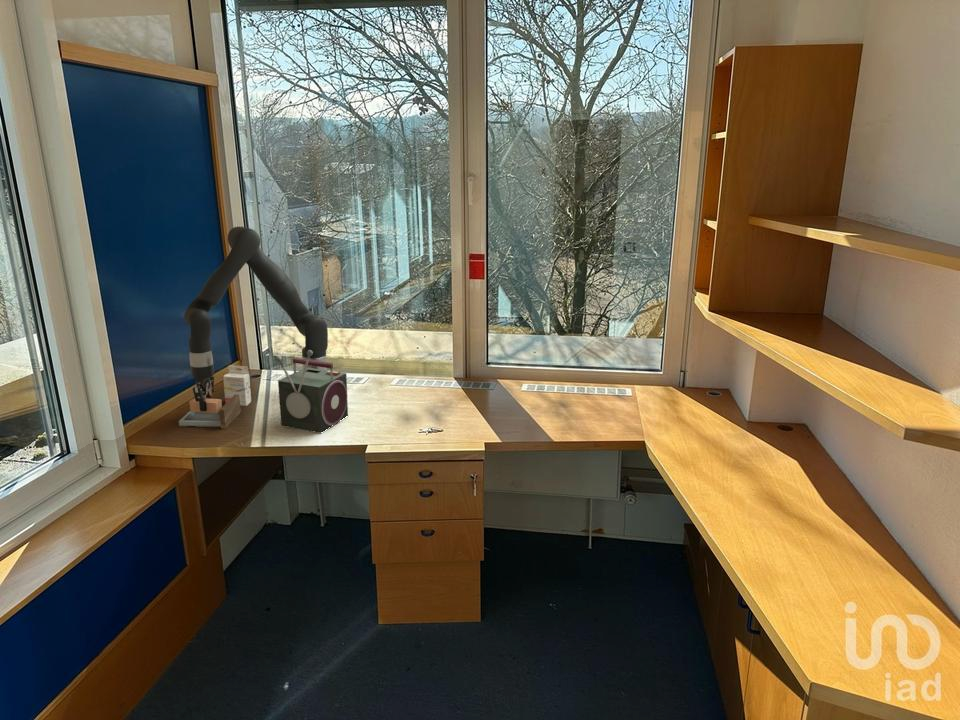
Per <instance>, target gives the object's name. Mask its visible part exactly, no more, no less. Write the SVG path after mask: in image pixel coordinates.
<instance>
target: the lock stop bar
mask: <svg viewBox="0 0 960 720" xmlns="http://www.w3.org/2000/svg"><path fill="white" fill-rule="evenodd" d="M222 401H223V400H222V399H220V398H211V399H209V398H206V406H207V410H206V411H200V406H199V402H196V400H195V397H194V398H192V399H190V400H189V409H190V411H189V412H201V413H214V414H217V413H219V410H220V409H221V408H222V407H223V403H222Z"/></svg>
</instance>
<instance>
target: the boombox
mask: <svg viewBox="0 0 960 720" xmlns="http://www.w3.org/2000/svg"><path fill="white" fill-rule="evenodd" d="M312 354H313V352H312V351H311V350H308V351H307V355H308V357H307V359H302V357H301V358H300V357H293V356H292V366H293V373H291V374H289V373H288V371H287V368H286V367H285V365H284V363H283V361H282V360H283V357H282V356H281V355H277V356H276V357H275V361H276V362H279V364H280V366H281V368H282V370H283V372H284V374H285V377H282V378H281V379H278V380H277V385H278V386H277V388H278V397H279V398H278V400H279V402H278V403H279V404H278V405H279V415H280V426H281V427H285V428H286V427H287V428H292V429H296V430H301V429H302V431H307V430H308V432H312V431H315V432H314V433H317V432H323V431H325V430H326V429H328V428H329V427H331V426H332V425H334V426H336V425H337V424H339V423H340V422H339V421H340V420H342V419H343V418H345V417H346V416H348V417H349V407H348V405H349V404H348V382H347V381H348V380H347V373H346V372H341V371H338V370H333V367H334V364H333V362H329V361H326V362H322V361H315V360H309V358H310V356H311V355H312ZM297 364H299V365H303V364H305V367H304V369H303V368H302V369H300V370H298V371H297ZM307 365H311V366H318V367H325V368H327V370H322V369H315V368H308V367H307ZM328 369H329V370H328ZM345 419H346V418H345ZM342 421H343V420H342ZM338 422H339V423H338ZM336 423H337V424H336ZM335 424H336V425H335ZM331 428H332V427H331ZM328 430H329V429H328ZM326 431H327V430H326ZM326 431H325V432H326ZM323 433H324V432H323Z"/></svg>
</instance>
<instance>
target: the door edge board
mask: <svg viewBox="0 0 960 720" xmlns="http://www.w3.org/2000/svg"><path fill="white" fill-rule="evenodd" d="M219 412H220V422H221V427H220V428H221V430H223V429H225V430H226V429H227V428H228V427H229V426H230V425H231V423H233V421H234V420H235V419H236V418H237V417H238V416H239V415H240V413H241V412H242V411H241V406H240V397H239V394H235V395H234V396H233V397H232V398H231V399H230V400H229V401H228V402H227V403H226V404H224V405H222V408H221V409H220V410H219Z"/></svg>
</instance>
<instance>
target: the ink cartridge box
mask: <svg viewBox="0 0 960 720" xmlns="http://www.w3.org/2000/svg"><path fill="white" fill-rule="evenodd" d="M227 368H228V369H227V370H228V373H226V374H224V375H223V376H222V378H223V391H224V400H225V404H226V403H227V402H228V401H229V400H230V399H231V398H232V397H233V396H234V395H235V394H239V397H240V407H247V406H248V405H249V404H250V403H251V402H252V393H251V380H250V379H251V378H250V373H249V367H248V366H245V365H244V366H243V365H231V364H229V365H228V366H227ZM225 404H224V405H225Z"/></svg>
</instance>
